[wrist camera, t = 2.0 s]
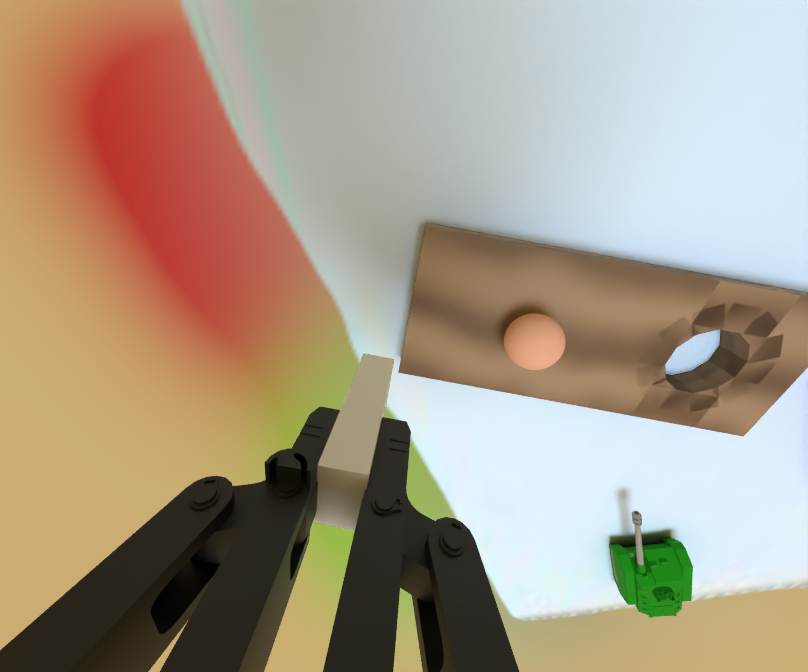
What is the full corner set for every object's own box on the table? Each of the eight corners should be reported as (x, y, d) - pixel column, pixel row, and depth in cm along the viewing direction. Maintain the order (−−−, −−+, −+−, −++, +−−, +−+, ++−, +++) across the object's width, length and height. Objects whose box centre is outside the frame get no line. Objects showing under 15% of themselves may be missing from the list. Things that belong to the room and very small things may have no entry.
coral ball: (508, 300, 22) (522, 322, 19) (561, 310, 22) (586, 334, 19) (492, 347, 24) (502, 375, 20) (541, 356, 24) (560, 386, 20)
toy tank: (669, 478, 32) (707, 526, 28) (670, 574, 40) (700, 623, 35) (600, 489, 34) (625, 535, 29) (613, 579, 41) (635, 627, 37)
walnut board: (426, 222, 23) (425, 227, 20) (820, 295, 23) (863, 307, 20) (401, 357, 28) (398, 372, 26) (718, 416, 28) (743, 436, 26)
